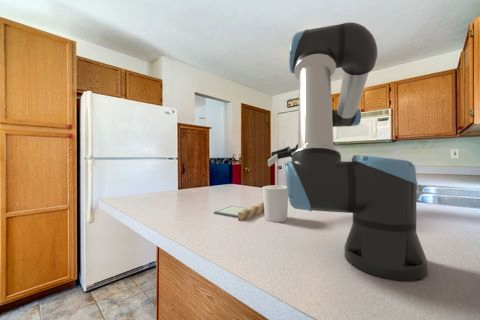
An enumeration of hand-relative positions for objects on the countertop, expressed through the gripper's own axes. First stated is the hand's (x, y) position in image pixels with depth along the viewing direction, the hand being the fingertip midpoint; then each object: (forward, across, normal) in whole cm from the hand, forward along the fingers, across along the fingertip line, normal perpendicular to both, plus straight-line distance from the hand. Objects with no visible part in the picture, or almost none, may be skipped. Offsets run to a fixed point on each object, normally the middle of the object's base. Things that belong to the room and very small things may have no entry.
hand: (283, 166), depth 84 cm
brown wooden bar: (+11, +8, -18) cm, 23 cm away
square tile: (+13, +17, -19) cm, 29 cm away
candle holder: (+11, -2, -17) cm, 20 cm away
